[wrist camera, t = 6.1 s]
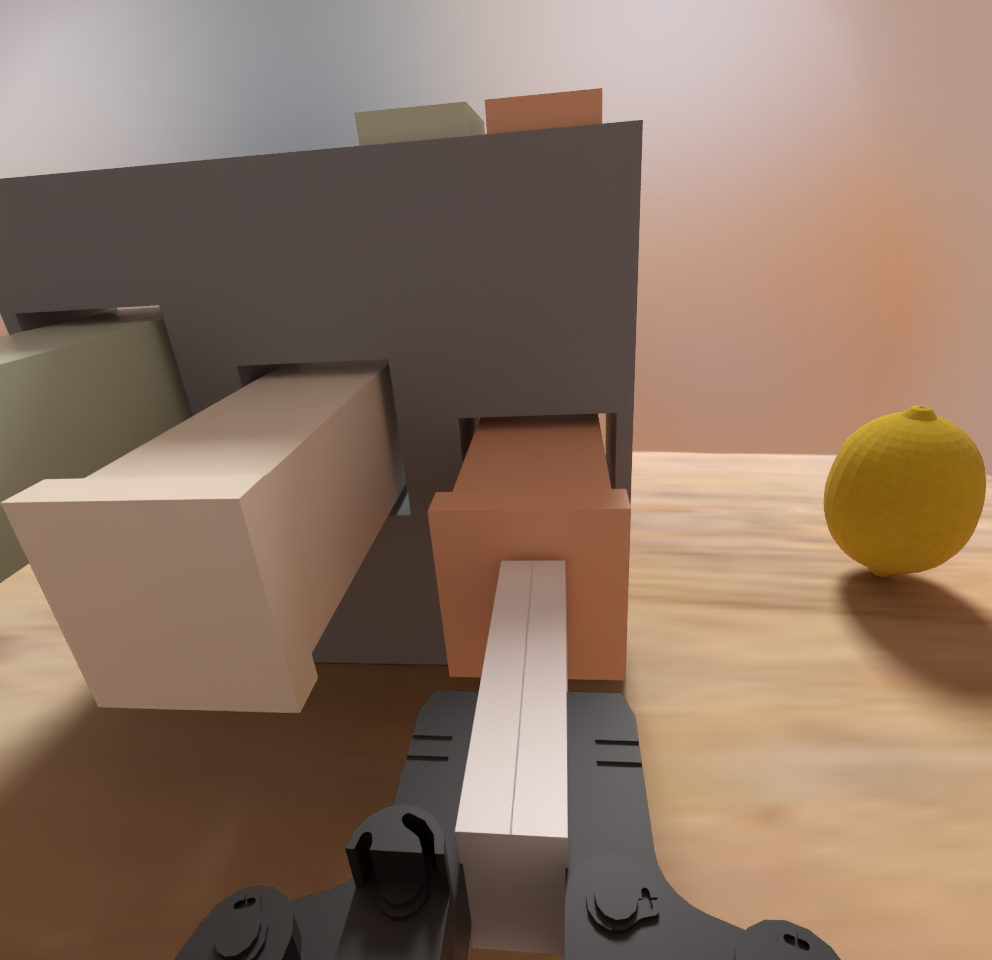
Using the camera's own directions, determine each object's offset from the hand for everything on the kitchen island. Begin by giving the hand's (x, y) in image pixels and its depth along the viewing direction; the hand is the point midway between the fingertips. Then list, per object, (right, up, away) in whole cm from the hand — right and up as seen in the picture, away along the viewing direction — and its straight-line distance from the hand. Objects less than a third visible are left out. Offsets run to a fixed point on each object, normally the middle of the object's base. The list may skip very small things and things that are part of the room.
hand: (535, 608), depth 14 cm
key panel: (-6, -3, +11) cm, 13 cm away
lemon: (+17, -1, +13) cm, 21 cm away
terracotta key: (+1, +1, +7) cm, 7 cm away
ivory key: (-7, +1, +4) cm, 8 cm away
